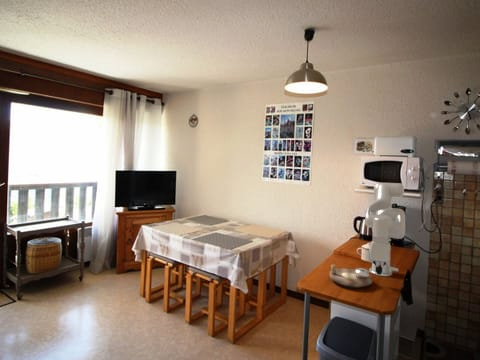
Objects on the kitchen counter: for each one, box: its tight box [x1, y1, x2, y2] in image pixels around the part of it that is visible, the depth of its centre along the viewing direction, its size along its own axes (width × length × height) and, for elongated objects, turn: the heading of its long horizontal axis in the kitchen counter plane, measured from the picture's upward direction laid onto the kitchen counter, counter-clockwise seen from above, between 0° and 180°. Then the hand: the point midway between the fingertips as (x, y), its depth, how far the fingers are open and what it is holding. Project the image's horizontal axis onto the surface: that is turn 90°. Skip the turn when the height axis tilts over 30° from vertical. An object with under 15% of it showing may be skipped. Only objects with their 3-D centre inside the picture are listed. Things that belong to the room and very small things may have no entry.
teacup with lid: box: [356, 242, 370, 263], centre depth 201 cm, size 12×9×12 cm
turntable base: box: [335, 282, 365, 289], centre depth 162 cm, size 16×16×2 cm
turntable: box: [329, 264, 373, 288], centre depth 162 cm, size 22×22×6 cm
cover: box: [354, 267, 370, 279], centre depth 161 cm, size 7×7×4 cm
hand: (378, 273), depth 158 cm, fingers closed
